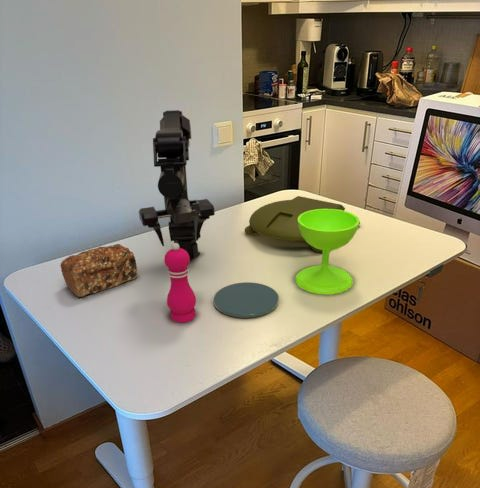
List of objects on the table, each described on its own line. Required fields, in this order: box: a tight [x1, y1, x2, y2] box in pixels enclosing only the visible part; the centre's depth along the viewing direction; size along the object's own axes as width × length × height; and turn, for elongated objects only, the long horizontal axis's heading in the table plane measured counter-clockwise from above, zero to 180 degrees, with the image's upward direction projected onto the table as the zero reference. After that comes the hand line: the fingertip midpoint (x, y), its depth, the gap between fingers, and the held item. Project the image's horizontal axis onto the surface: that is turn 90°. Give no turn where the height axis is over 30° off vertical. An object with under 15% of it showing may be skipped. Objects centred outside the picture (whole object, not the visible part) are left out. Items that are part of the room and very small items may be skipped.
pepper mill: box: [163, 242, 197, 324], centre depth 120 cm, size 7×7×20 cm
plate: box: [213, 281, 280, 319], centre depth 130 cm, size 17×17×1 cm
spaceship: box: [244, 195, 361, 253], centre depth 165 cm, size 35×31×10 cm
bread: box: [59, 243, 138, 298], centre depth 139 cm, size 19×11×10 cm, turn 127°
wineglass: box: [295, 209, 360, 296], centre depth 134 cm, size 16×16×18 cm
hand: (180, 242), depth 132 cm, fingers open, 9 cm apart
